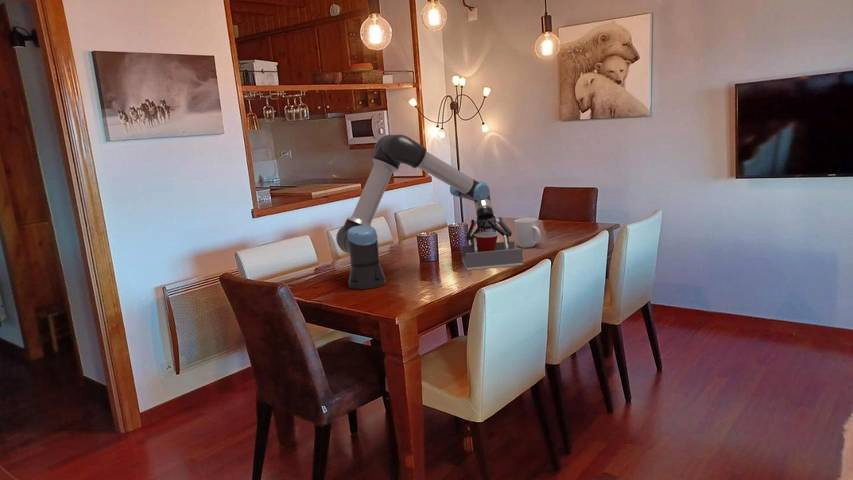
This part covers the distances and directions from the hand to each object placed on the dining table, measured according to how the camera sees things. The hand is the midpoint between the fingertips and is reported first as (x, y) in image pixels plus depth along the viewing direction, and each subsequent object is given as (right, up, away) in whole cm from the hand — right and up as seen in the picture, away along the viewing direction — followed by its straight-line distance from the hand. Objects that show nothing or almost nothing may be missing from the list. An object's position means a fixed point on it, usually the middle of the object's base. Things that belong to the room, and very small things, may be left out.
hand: (491, 250), depth 255 cm
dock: (0, -5, +3) cm, 6 cm away
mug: (+21, +1, +29) cm, 36 cm away
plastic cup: (-3, -4, +4) cm, 6 cm away
